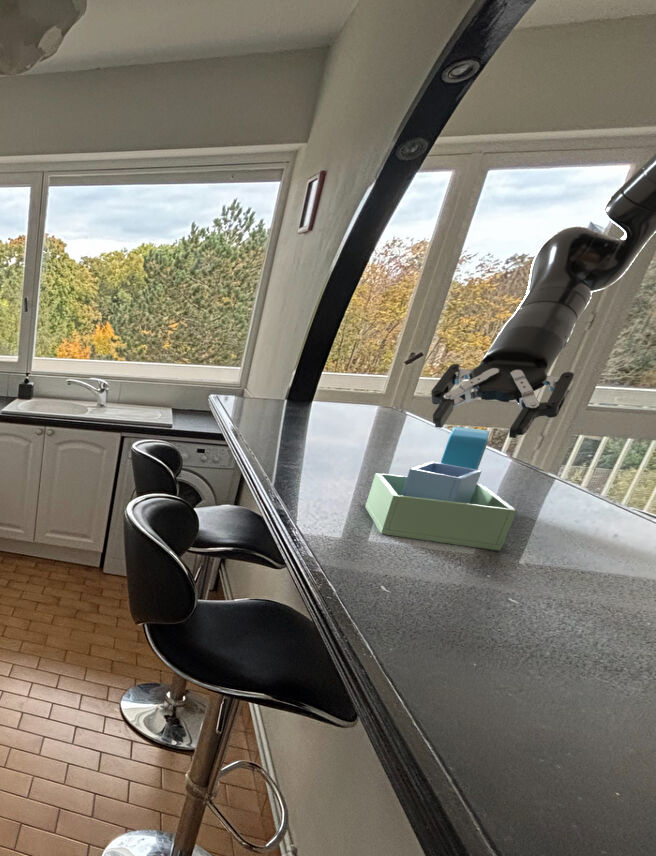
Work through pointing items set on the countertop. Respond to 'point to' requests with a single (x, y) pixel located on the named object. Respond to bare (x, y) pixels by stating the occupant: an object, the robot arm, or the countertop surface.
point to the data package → (465, 447)
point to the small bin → (441, 482)
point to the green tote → (439, 515)
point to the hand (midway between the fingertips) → (473, 429)
